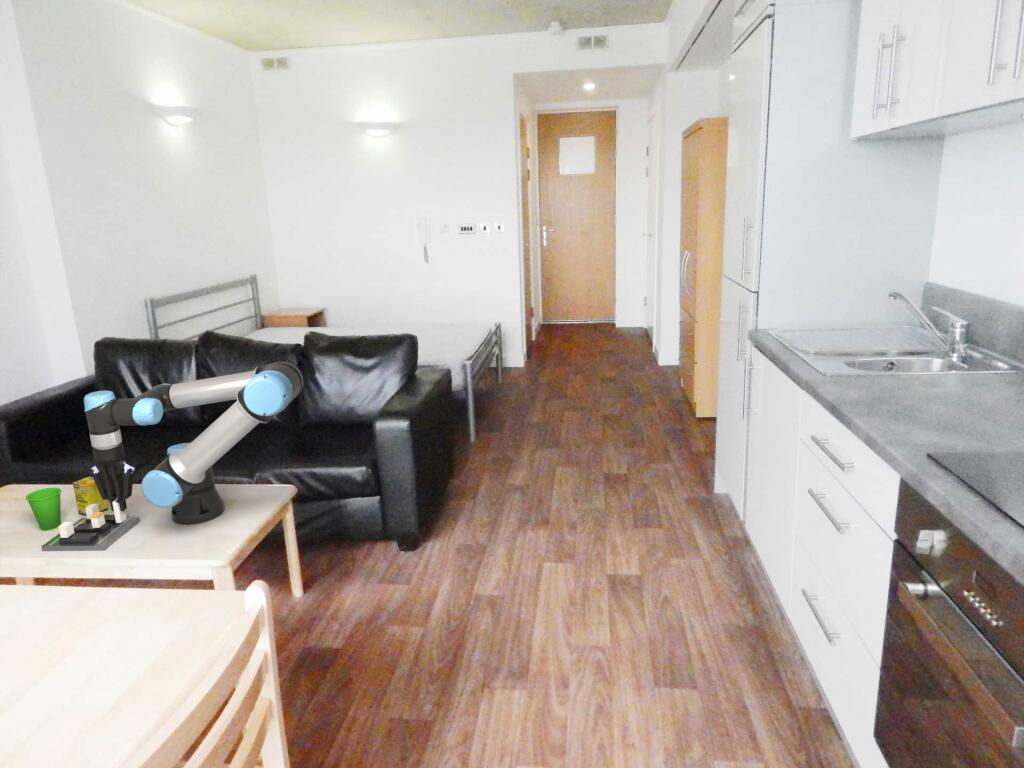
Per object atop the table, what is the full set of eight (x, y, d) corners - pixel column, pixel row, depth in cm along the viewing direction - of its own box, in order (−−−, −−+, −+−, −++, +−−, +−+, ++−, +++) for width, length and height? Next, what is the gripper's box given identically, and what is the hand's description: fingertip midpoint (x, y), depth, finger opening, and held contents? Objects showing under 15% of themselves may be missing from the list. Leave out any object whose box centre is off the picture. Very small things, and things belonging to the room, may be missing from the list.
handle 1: (74, 532, 195) (72, 521, 194) (67, 537, 192) (65, 526, 191) (67, 532, 195) (65, 521, 194) (60, 537, 192) (58, 526, 191)
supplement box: (78, 514, 214) (71, 482, 211) (95, 507, 219) (89, 475, 216) (91, 517, 212) (84, 485, 209) (108, 509, 217) (102, 478, 214)
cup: (50, 534, 201) (43, 500, 198) (25, 532, 203) (17, 499, 200) (75, 521, 209) (68, 488, 207) (50, 519, 211) (43, 486, 208)
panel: (139, 521, 208) (138, 512, 207) (104, 550, 191) (102, 540, 190) (82, 522, 209) (80, 513, 208) (42, 551, 191) (40, 541, 191)
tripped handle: (105, 523, 200) (103, 511, 199) (99, 527, 197) (97, 516, 196) (98, 523, 200) (96, 512, 199) (92, 527, 197) (90, 516, 197)
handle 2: (100, 514, 206) (97, 503, 205) (93, 518, 203) (91, 508, 202) (93, 514, 206) (91, 503, 205) (87, 518, 203) (85, 508, 203)
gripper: (137, 440, 196) (150, 514, 202) (93, 440, 196) (107, 515, 202) (122, 449, 188) (136, 526, 194) (76, 449, 189) (91, 526, 195)
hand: (121, 520), depth 198 cm, fingers closed
